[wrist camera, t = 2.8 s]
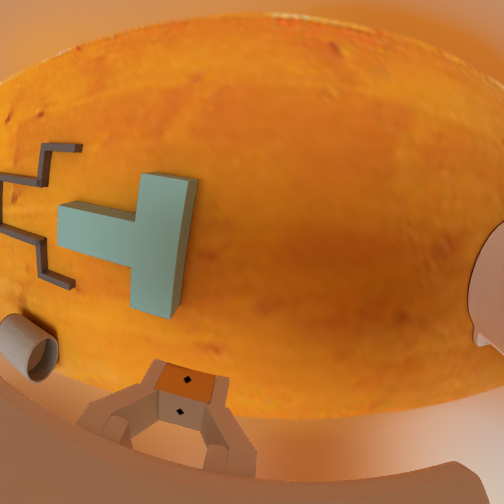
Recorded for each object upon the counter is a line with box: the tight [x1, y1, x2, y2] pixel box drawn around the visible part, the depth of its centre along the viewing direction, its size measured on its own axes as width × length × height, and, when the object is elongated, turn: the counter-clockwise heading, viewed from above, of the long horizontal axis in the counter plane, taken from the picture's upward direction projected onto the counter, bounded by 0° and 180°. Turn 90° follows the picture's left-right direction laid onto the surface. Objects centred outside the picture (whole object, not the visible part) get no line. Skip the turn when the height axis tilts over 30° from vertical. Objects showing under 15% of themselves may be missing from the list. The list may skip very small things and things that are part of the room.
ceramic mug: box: [0, 313, 59, 383], centre depth 27 cm, size 11×8×8 cm
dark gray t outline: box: [0, 143, 82, 290], centre depth 24 cm, size 16×16×1 cm
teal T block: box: [57, 172, 198, 319], centre depth 23 cm, size 13×12×3 cm
